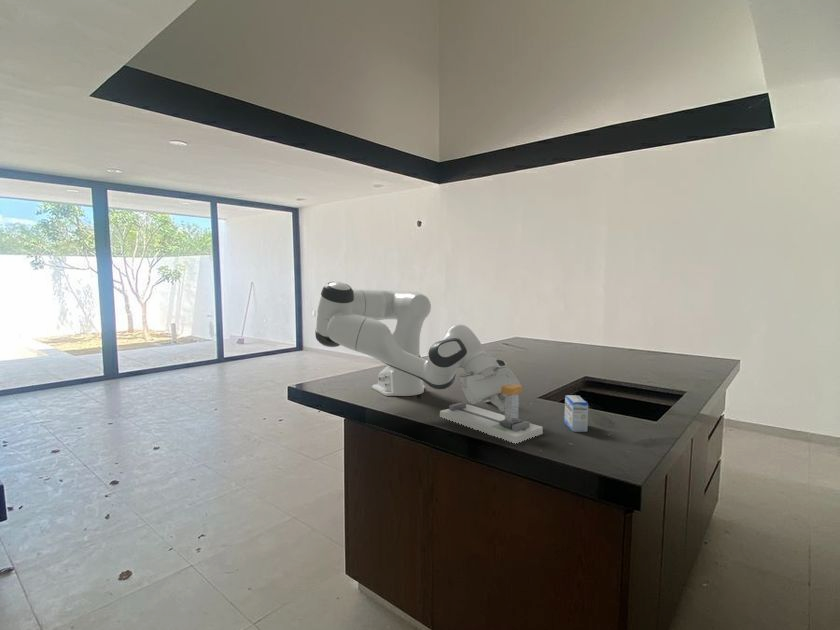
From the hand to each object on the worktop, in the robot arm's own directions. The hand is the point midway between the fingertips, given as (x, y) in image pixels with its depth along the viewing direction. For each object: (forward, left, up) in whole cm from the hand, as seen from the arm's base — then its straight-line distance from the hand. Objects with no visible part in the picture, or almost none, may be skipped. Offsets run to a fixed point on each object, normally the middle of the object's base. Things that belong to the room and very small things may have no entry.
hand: (506, 409), depth 126 cm
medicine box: (+11, +18, -7) cm, 22 cm away
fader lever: (+2, 0, -4) cm, 4 cm away
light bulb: (-23, +18, -7) cm, 30 cm away
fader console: (-7, 0, -6) cm, 9 cm away
